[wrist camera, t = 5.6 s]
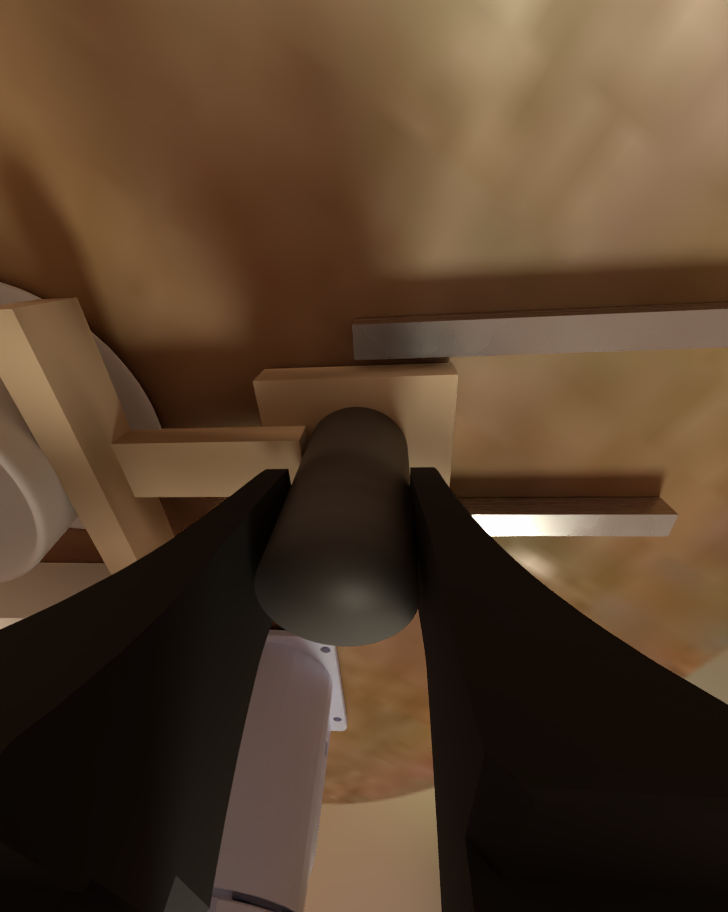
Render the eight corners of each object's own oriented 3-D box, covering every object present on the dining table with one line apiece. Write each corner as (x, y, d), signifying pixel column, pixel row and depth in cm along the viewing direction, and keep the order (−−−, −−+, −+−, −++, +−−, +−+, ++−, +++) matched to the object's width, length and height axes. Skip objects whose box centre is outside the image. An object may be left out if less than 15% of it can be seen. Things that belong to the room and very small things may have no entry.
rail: (651, 518, 14) (668, 536, 13) (367, 518, 15) (365, 535, 14) (745, 301, 10) (777, 306, 9) (354, 318, 11) (351, 324, 10)
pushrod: (439, 542, 15) (470, 730, 9) (172, 540, 16) (47, 711, 10) (458, 273, 10) (548, 316, 4) (69, 294, 11) (-288, 351, 5)
